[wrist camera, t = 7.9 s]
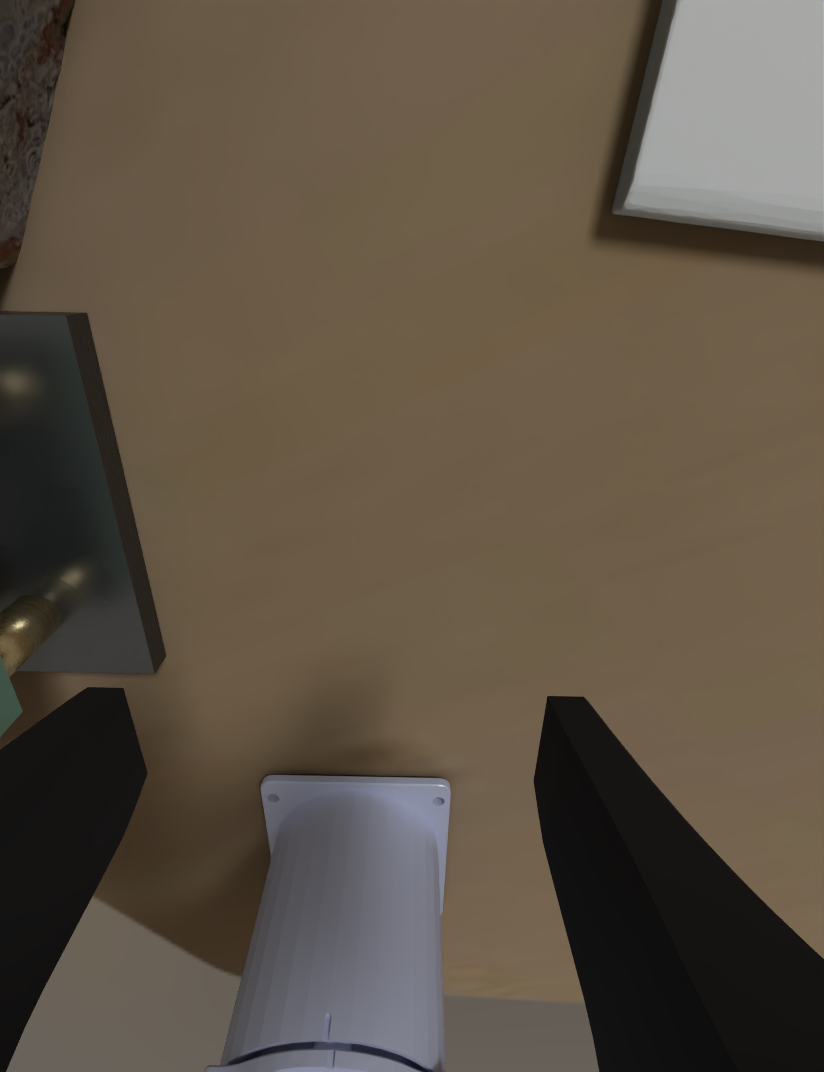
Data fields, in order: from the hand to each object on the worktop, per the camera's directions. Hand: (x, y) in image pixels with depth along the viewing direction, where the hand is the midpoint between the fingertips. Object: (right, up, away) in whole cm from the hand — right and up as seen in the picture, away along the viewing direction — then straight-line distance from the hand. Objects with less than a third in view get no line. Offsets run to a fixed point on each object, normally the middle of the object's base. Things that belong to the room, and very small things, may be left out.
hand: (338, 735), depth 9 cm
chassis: (-13, +4, +8) cm, 16 cm away
